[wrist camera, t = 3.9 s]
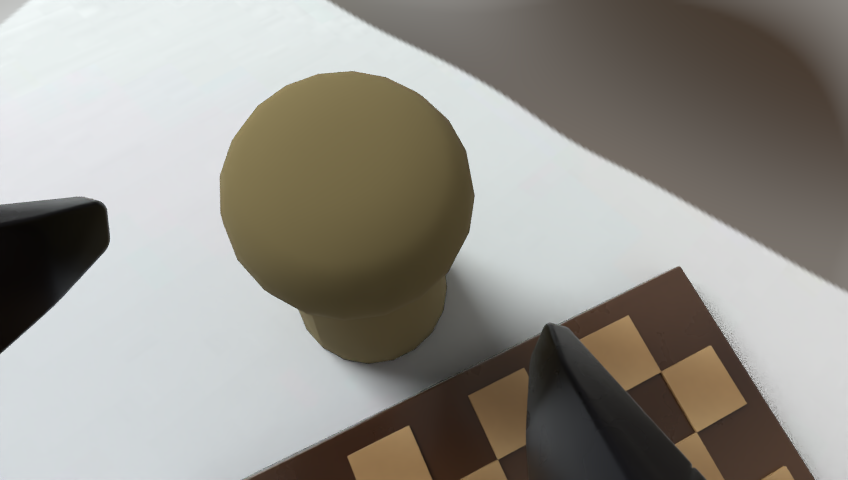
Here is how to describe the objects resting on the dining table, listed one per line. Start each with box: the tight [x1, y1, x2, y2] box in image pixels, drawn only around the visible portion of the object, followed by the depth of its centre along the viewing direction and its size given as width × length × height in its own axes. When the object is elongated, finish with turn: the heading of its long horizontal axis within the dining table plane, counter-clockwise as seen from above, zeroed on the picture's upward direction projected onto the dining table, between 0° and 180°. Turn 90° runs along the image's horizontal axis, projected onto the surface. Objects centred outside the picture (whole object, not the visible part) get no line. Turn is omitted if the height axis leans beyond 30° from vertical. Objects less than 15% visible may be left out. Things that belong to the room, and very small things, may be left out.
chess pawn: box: [220, 71, 475, 364], centre depth 13 cm, size 6×6×11 cm
